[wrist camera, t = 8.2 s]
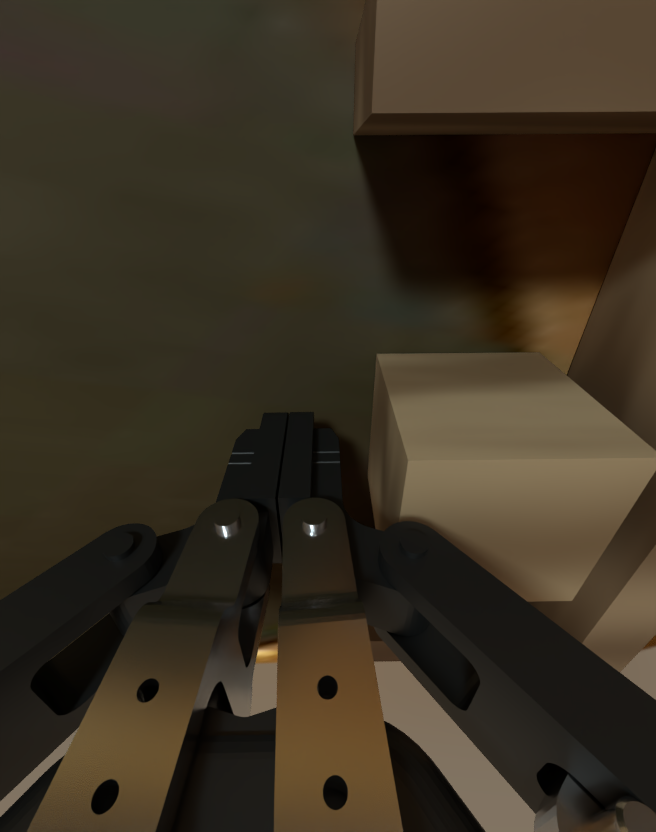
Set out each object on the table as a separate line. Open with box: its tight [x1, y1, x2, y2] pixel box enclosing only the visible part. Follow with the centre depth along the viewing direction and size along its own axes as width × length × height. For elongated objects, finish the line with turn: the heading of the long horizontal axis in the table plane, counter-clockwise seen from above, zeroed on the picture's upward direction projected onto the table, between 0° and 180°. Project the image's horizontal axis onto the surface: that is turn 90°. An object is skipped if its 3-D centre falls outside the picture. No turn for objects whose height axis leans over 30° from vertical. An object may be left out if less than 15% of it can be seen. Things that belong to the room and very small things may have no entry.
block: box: [368, 352, 656, 602], centre depth 11 cm, size 5×5×5 cm
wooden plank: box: [353, 0, 656, 672], centre depth 10 cm, size 22×9×5 cm, turn 0°
